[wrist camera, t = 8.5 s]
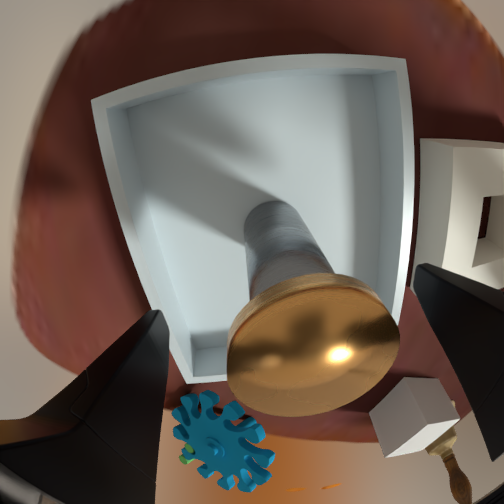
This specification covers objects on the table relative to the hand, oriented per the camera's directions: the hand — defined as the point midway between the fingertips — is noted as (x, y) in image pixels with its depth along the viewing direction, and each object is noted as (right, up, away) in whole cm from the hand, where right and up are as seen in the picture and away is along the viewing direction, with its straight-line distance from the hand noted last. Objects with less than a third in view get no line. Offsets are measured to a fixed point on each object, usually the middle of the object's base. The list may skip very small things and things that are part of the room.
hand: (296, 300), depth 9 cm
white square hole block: (+14, +4, +6) cm, 15 cm away
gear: (-5, -12, +14) cm, 19 cm away
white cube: (+15, -13, +15) cm, 25 cm away
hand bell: (+23, -21, +20) cm, 37 cm away
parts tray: (0, +3, +6) cm, 6 cm away
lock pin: (0, +3, +5) cm, 6 cm away
